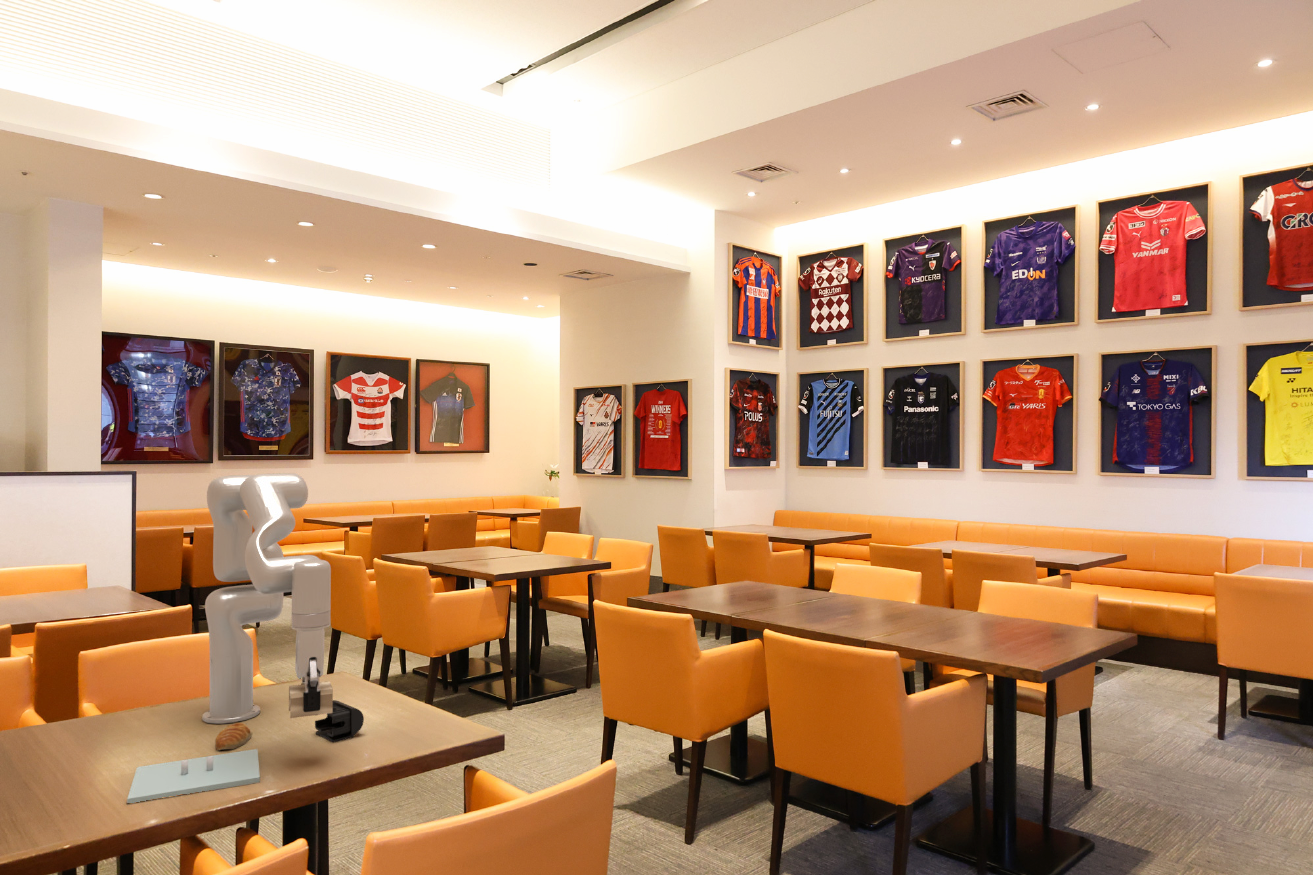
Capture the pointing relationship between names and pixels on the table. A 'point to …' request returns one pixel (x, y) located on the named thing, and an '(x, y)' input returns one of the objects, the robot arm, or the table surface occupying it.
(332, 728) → the end cap
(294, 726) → the table surface
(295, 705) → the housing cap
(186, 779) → the base plate
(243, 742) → the pastry
